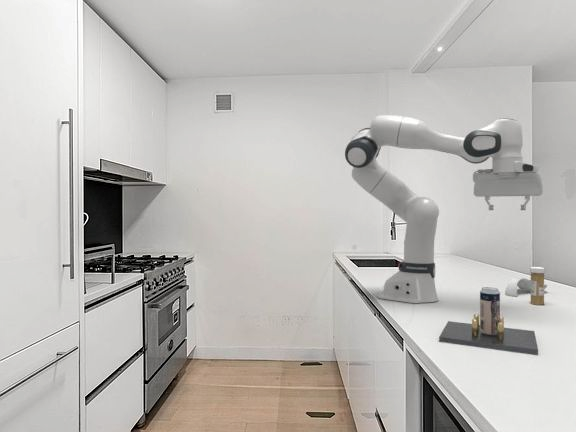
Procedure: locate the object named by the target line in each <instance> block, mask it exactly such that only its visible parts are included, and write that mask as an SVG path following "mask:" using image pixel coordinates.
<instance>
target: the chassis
mask: <svg viewBox="0 0 576 432" xmlns="http://www.w3.org/2000/svg"><path fill="white" fill-rule="evenodd" d="M438 339H439V341H438V342H440V343H441V342H442V343H449V344H455V345H464V346H469V347H470V346H471V347H476V348H485V349H492V350H498V351H505V350H506V351H507V352H514V353H519V354H520V353H521V354H527V355H528V354H529V355H535V356H536V355H538V356H539V347H538V342H537V338H536V333H535V330H530V329H529V330H528V329H522V328H521V329H520V328H511V327H505V318H504V317H502V316H500V322H497V335H496V336H489V335H485V334H483V333H482V332H480V314H473V318H472V319H471V323H467V322H458V321H449V320H447V322H446V324H445V326H444V328H443V330H442V331H441V333H440V335H439V338H438Z"/></svg>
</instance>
